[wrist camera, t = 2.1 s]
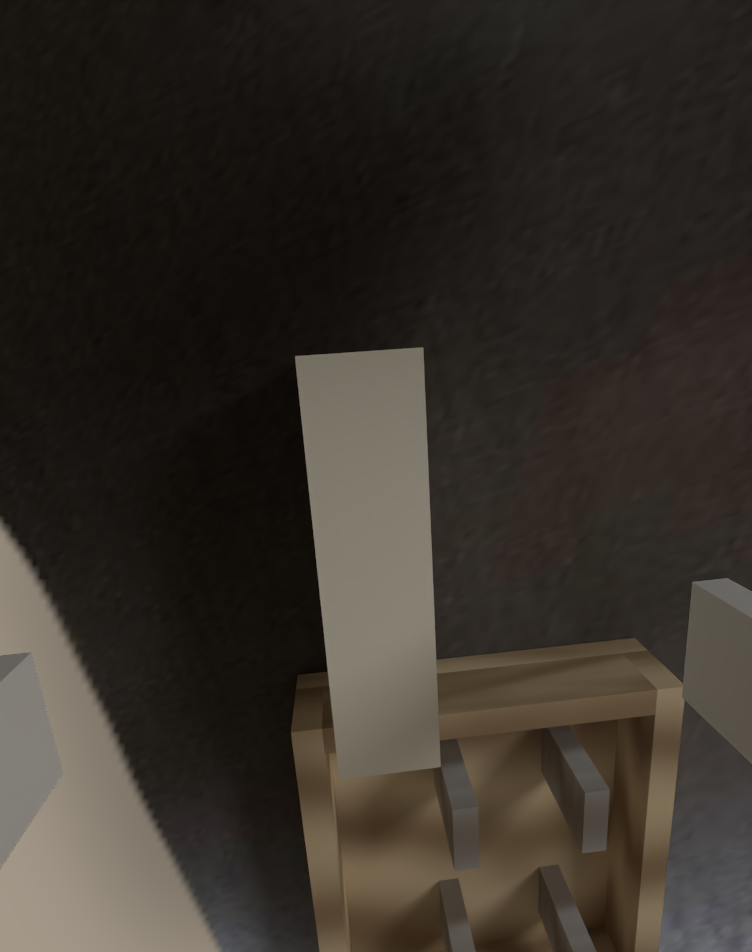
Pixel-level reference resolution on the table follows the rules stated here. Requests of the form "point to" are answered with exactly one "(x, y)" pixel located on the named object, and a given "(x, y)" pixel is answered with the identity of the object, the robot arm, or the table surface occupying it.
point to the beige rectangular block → (373, 554)
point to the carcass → (502, 810)
